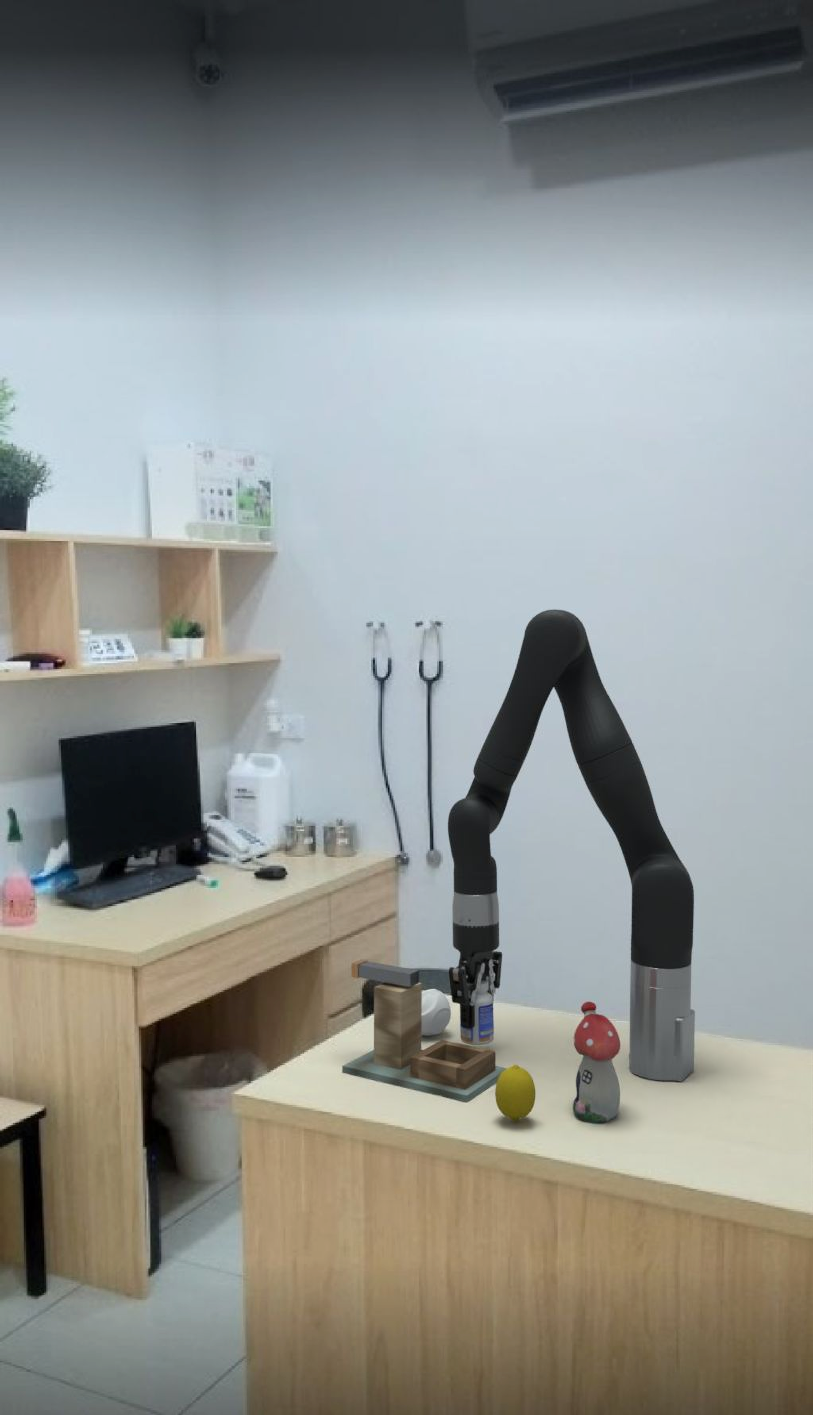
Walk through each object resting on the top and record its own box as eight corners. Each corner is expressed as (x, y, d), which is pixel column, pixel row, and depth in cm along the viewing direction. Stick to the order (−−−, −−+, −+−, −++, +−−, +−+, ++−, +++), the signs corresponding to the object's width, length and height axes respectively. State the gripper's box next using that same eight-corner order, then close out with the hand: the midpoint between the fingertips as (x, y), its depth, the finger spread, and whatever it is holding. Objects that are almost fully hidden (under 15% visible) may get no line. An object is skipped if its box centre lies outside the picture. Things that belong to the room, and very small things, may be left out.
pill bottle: (494, 1035, 188) (493, 976, 187) (493, 1046, 182) (492, 986, 182) (461, 1034, 188) (460, 976, 188) (459, 1045, 183) (458, 985, 182)
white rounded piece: (401, 1028, 197) (401, 984, 197) (443, 1025, 199) (443, 982, 199) (412, 1044, 190) (412, 998, 189) (456, 1040, 191) (456, 995, 191)
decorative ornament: (572, 1098, 166) (573, 997, 166) (617, 1101, 165) (619, 999, 165) (573, 1124, 157) (574, 1016, 156) (621, 1127, 156) (622, 1019, 156)
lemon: (540, 1118, 159) (541, 1061, 159) (527, 1132, 154) (528, 1074, 154) (503, 1111, 162) (503, 1055, 161) (489, 1125, 157) (489, 1068, 156)
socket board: (507, 1074, 176) (508, 991, 175) (466, 1102, 165) (467, 1013, 164) (388, 1048, 187) (388, 969, 187) (342, 1072, 176) (342, 988, 176)
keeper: (419, 983, 178) (419, 969, 178) (409, 987, 175) (409, 973, 175) (361, 972, 184) (361, 959, 183) (351, 976, 181) (351, 963, 181)
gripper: (474, 930, 176) (475, 1038, 177) (516, 912, 188) (517, 1014, 189) (432, 925, 180) (434, 1030, 181) (476, 908, 192) (477, 1007, 193)
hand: (476, 1021), depth 185 cm, fingers closed on pill bottle, 5 cm apart
